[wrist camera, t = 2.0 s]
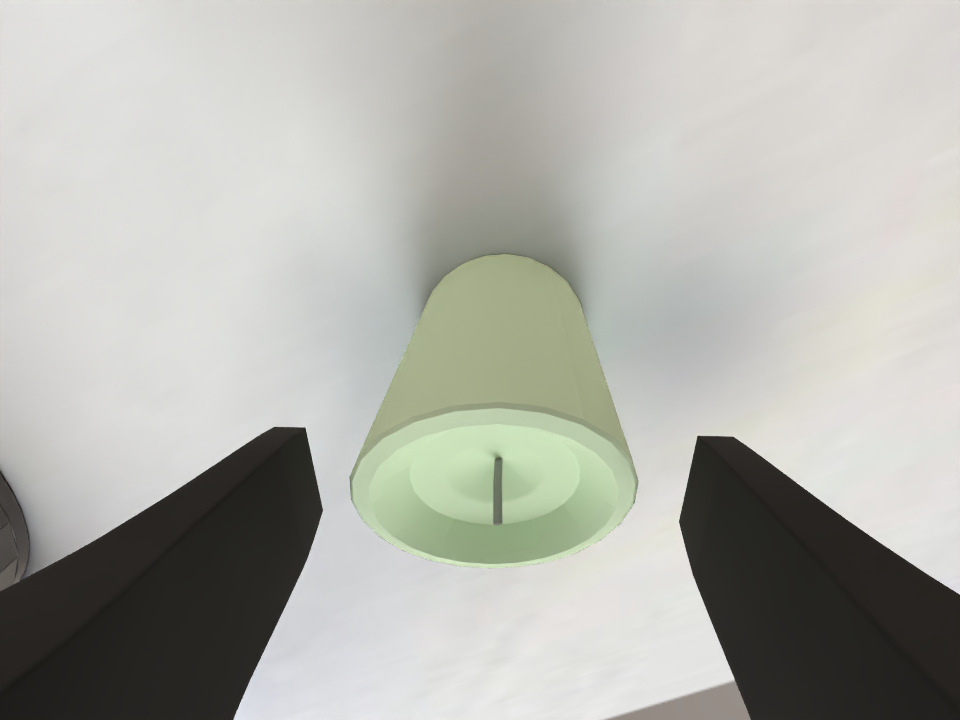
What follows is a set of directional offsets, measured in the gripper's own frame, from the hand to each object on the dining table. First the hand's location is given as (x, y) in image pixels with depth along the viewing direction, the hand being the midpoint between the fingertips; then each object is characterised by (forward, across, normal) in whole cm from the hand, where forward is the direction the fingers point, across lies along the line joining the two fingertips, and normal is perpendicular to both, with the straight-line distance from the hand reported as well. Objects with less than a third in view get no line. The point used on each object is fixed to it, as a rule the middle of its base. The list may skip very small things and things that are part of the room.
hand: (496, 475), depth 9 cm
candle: (+7, 0, 0) cm, 7 cm away
